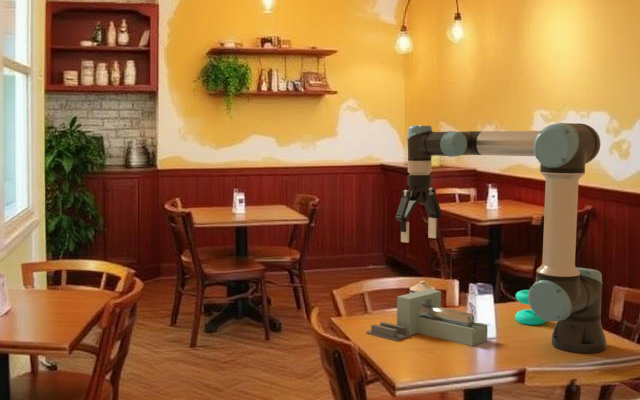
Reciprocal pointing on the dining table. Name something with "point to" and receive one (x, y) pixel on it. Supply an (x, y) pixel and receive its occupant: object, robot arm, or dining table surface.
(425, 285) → the teacup with lid
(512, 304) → the dining table surface
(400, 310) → the grey-green rectangular arch
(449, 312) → the dowel
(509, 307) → the dining table surface
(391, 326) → the cradle
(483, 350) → the dining table surface
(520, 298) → the donuts
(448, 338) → the shelf
